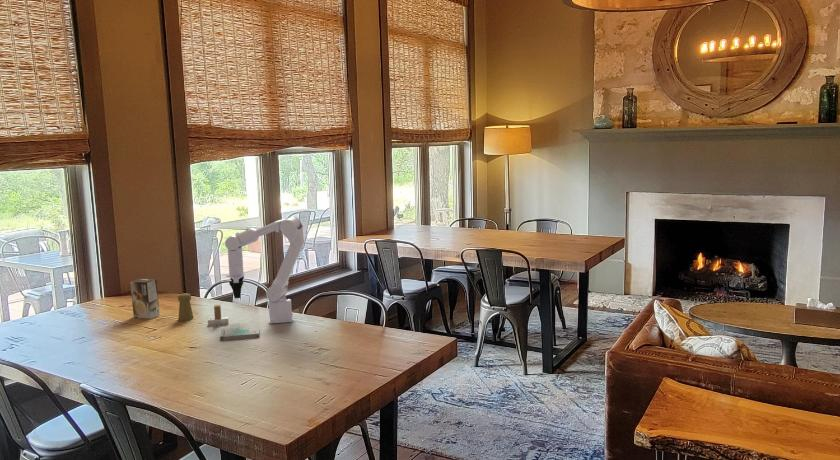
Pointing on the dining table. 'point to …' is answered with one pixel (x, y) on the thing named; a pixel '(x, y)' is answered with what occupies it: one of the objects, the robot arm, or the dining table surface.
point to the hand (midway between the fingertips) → (237, 295)
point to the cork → (185, 307)
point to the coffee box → (145, 298)
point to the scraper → (218, 317)
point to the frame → (238, 335)
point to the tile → (240, 331)
